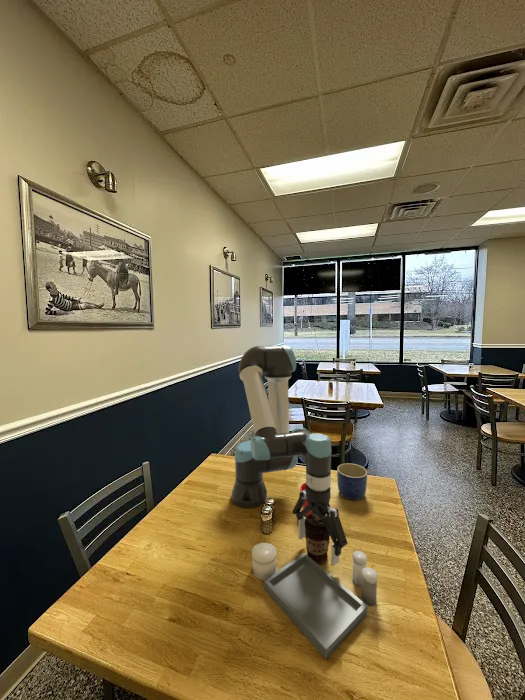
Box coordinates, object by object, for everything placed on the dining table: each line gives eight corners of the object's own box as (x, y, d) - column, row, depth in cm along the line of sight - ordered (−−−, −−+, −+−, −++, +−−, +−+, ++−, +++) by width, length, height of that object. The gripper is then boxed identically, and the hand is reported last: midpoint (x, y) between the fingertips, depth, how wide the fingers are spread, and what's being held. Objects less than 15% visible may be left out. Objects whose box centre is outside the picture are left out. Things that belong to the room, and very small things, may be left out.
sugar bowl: (247, 568, 88) (246, 550, 87) (266, 556, 92) (265, 539, 92) (262, 585, 82) (261, 566, 82) (281, 571, 87) (281, 553, 86)
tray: (264, 588, 81) (264, 580, 81) (304, 560, 91) (304, 552, 90) (326, 659, 64) (326, 649, 63) (367, 614, 73) (367, 605, 73)
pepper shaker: (358, 598, 78) (359, 572, 77) (366, 590, 80) (367, 565, 79) (371, 609, 75) (372, 582, 74) (379, 600, 77) (380, 574, 76)
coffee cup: (331, 571, 86) (332, 530, 85) (303, 566, 88) (303, 526, 87) (330, 549, 95) (331, 511, 94) (305, 545, 97) (305, 508, 96)
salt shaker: (349, 579, 84) (350, 555, 83) (357, 572, 86) (357, 548, 85) (361, 589, 81) (361, 563, 80) (368, 581, 83) (369, 556, 82)
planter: (369, 491, 128) (370, 467, 127) (362, 506, 117) (363, 480, 116) (341, 483, 134) (342, 460, 133) (333, 496, 124) (333, 472, 123)
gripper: (282, 473, 97) (282, 532, 99) (344, 509, 77) (343, 583, 79) (298, 466, 102) (298, 523, 103) (360, 499, 82) (359, 569, 84)
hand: (317, 549), depth 91 cm, fingers open, 13 cm apart
